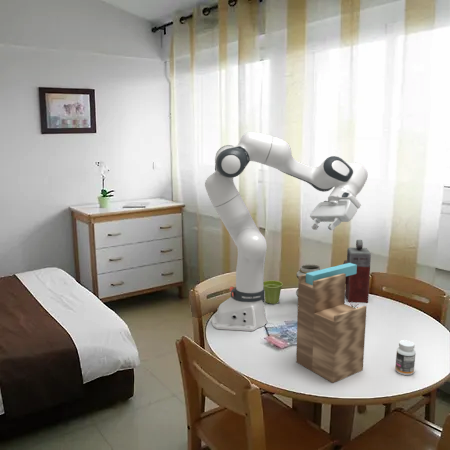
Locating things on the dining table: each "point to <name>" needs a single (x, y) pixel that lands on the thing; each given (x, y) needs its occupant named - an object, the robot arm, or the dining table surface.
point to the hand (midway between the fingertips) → (321, 228)
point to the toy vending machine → (358, 274)
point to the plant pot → (272, 291)
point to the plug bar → (331, 272)
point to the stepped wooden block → (329, 329)
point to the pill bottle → (405, 357)
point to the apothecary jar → (306, 270)
